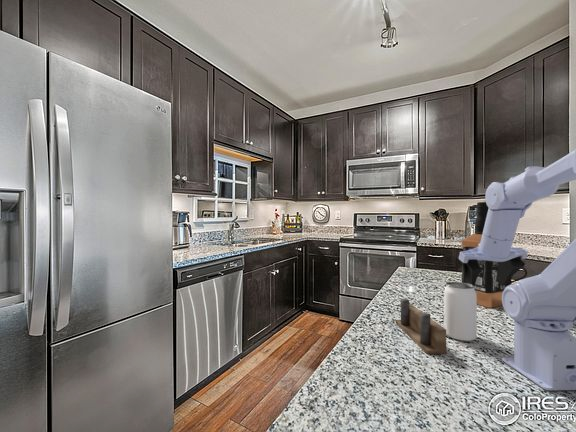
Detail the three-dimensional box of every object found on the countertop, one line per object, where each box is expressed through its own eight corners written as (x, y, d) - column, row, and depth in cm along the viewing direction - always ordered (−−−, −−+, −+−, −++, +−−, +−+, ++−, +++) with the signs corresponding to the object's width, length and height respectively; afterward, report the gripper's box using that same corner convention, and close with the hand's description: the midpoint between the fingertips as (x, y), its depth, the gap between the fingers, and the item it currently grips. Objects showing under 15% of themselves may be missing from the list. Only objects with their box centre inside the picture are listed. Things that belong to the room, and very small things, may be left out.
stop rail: (446, 353, 58) (446, 319, 57) (426, 354, 57) (426, 320, 57) (410, 322, 74) (410, 296, 73) (395, 322, 73) (395, 296, 73)
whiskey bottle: (510, 304, 87) (511, 201, 87) (489, 308, 83) (490, 201, 83) (477, 295, 97) (477, 202, 96) (457, 298, 93) (457, 202, 93)
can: (481, 343, 62) (482, 289, 62) (449, 340, 63) (449, 288, 63) (469, 331, 68) (469, 282, 68) (440, 329, 69) (440, 281, 69)
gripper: (516, 224, 66) (502, 272, 72) (455, 229, 66) (446, 276, 72) (542, 238, 60) (524, 290, 65) (474, 243, 60) (462, 294, 65)
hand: (484, 284), depth 68 cm, fingers open, 7 cm apart
